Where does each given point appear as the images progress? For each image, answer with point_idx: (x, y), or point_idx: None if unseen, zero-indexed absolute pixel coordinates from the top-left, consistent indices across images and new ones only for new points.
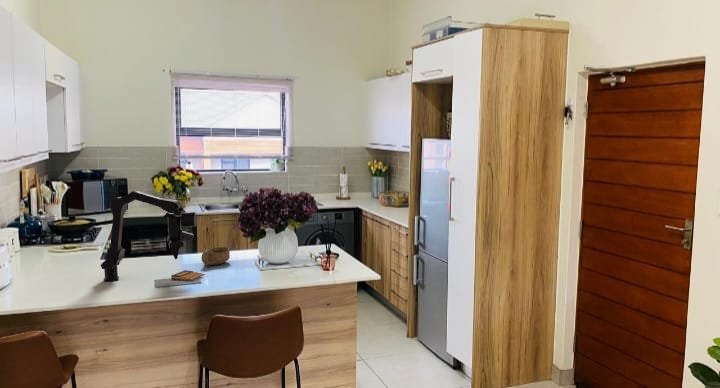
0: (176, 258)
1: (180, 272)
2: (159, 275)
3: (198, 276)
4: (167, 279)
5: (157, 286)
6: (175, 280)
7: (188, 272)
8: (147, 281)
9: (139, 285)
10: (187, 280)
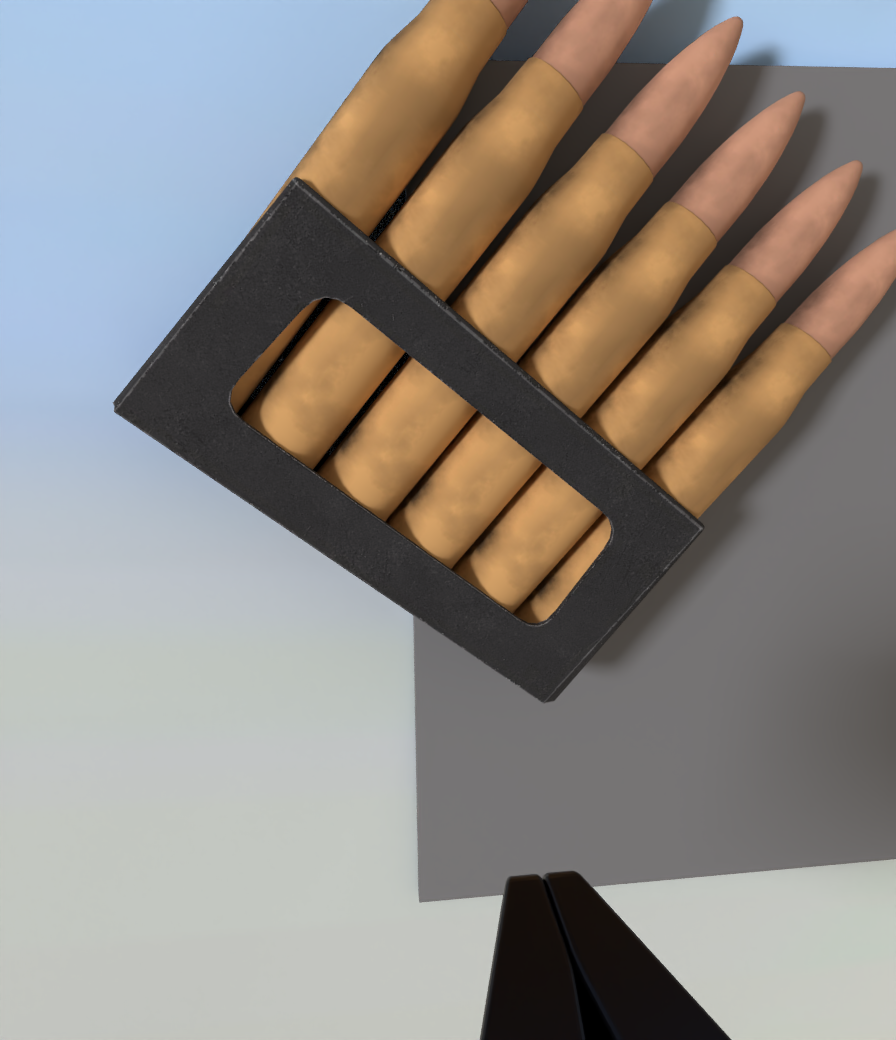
0: (586, 908)
1: (334, 523)
2: (52, 848)
3: (719, 80)
4: (491, 721)
5: (876, 836)
6: None
7: (395, 328)
8: (436, 970)
9: None
10: None
